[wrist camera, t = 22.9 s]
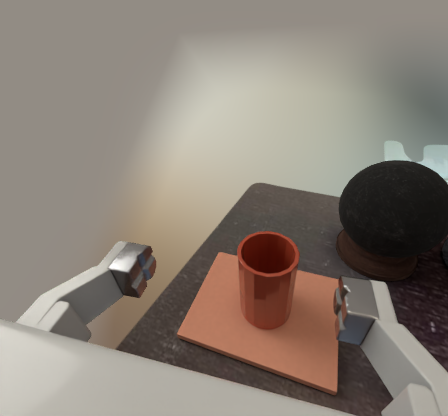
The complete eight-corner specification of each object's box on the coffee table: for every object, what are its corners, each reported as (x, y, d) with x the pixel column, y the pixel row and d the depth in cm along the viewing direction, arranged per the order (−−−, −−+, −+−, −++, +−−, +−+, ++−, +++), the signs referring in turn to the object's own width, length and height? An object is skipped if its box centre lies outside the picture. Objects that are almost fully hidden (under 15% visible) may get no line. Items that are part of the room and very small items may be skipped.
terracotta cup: (233, 320, 32) (229, 267, 26) (248, 279, 36) (247, 227, 30) (286, 336, 30) (294, 283, 24) (294, 291, 34) (302, 237, 28)
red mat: (178, 338, 31) (176, 333, 31) (219, 256, 42) (219, 251, 41) (335, 396, 26) (337, 392, 25) (338, 284, 36) (340, 279, 35)
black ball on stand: (323, 222, 46) (340, 144, 37) (404, 226, 44) (442, 143, 35) (337, 282, 36) (364, 194, 27) (442, 291, 34) (511, 199, 25)
